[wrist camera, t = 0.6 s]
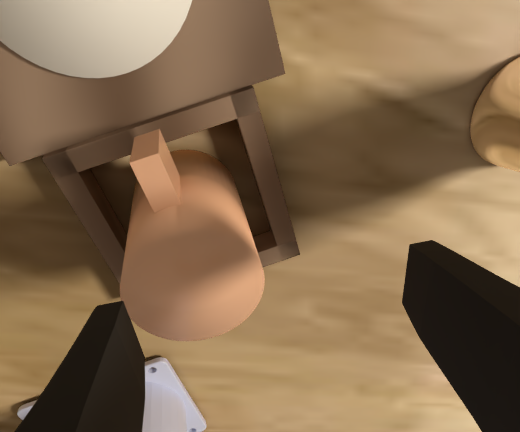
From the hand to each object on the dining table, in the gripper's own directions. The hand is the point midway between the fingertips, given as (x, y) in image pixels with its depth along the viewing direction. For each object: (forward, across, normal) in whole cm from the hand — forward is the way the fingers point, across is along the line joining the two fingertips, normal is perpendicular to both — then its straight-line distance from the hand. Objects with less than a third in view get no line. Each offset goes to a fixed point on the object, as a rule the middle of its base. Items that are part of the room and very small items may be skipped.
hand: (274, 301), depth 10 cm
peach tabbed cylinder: (+11, +2, +2) cm, 11 cm away
